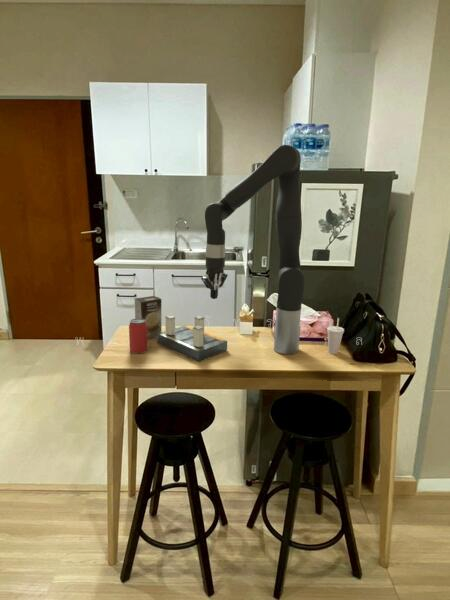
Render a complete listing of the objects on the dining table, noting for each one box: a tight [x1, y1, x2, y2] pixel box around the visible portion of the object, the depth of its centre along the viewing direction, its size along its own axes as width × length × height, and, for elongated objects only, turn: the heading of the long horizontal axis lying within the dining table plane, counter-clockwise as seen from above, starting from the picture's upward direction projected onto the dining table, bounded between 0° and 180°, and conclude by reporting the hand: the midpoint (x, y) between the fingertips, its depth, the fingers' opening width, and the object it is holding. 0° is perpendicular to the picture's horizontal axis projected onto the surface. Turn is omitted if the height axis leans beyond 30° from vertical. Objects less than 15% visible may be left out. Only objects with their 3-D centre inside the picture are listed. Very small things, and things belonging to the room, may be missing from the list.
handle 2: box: [192, 325, 205, 347], centre depth 149 cm, size 2×3×7 cm
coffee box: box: [134, 295, 163, 340], centre depth 167 cm, size 9×6×16 cm
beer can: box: [128, 318, 149, 354], centre depth 152 cm, size 7×7×12 cm
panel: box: [156, 324, 228, 363], centre depth 158 cm, size 15×24×4 cm, turn 47°
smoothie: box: [326, 317, 345, 355], centre depth 156 cm, size 6×6×14 cm
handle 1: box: [164, 315, 176, 335], centre depth 159 cm, size 2×3×7 cm
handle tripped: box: [194, 315, 205, 329], centre depth 160 cm, size 2×3×7 cm
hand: (214, 298), depth 162 cm, fingers closed
